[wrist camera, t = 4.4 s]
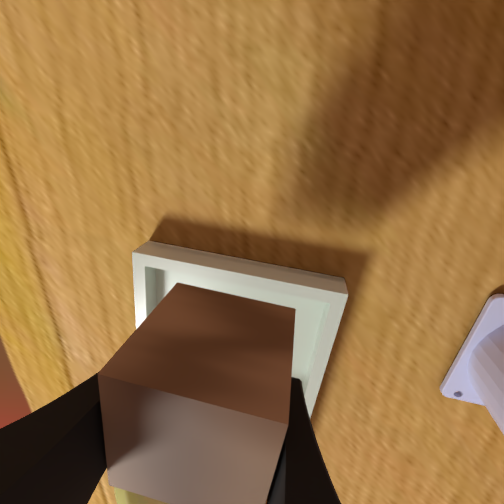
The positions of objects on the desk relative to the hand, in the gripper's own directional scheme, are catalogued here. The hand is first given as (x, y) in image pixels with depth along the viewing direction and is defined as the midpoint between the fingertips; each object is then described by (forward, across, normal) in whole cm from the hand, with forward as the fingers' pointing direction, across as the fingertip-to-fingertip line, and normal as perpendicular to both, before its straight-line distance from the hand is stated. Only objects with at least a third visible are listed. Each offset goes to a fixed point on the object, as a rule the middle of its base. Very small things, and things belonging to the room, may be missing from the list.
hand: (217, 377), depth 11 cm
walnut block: (+2, 0, 0) cm, 2 cm away
